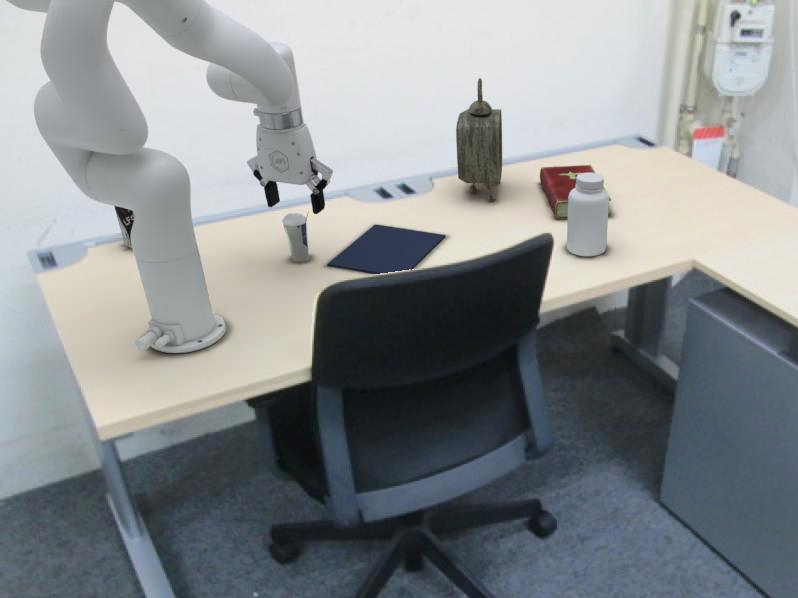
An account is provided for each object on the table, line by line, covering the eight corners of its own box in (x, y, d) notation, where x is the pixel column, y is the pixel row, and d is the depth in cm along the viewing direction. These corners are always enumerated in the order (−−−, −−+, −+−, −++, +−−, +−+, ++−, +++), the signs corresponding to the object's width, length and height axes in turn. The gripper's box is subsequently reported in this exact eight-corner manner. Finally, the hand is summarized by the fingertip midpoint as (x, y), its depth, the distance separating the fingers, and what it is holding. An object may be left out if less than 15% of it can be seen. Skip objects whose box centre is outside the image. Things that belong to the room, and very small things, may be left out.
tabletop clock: (499, 204, 199) (497, 89, 185) (458, 204, 199) (453, 88, 185) (502, 180, 211) (500, 70, 197) (464, 180, 211) (459, 70, 197)
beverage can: (125, 252, 178) (109, 194, 171) (125, 240, 182) (109, 183, 175) (156, 248, 179) (141, 190, 172) (155, 236, 184) (140, 180, 177)
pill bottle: (614, 248, 181) (618, 176, 172) (588, 261, 176) (591, 187, 167) (584, 237, 185) (587, 166, 177) (558, 249, 180) (560, 177, 172)
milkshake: (310, 265, 173) (303, 216, 168) (284, 262, 174) (276, 214, 169) (320, 255, 177) (313, 207, 171) (294, 252, 178) (287, 204, 172)
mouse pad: (402, 278, 169) (402, 276, 169) (327, 265, 173) (327, 263, 173) (445, 236, 185) (445, 234, 185) (375, 226, 189) (375, 224, 189)
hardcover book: (555, 219, 193) (555, 200, 190) (539, 183, 210) (539, 166, 207) (609, 216, 194) (611, 197, 192) (590, 181, 211) (590, 163, 209)
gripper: (227, 119, 160) (245, 209, 170) (313, 129, 155) (327, 222, 165) (251, 106, 165) (267, 194, 175) (334, 116, 161) (346, 206, 171)
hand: (296, 207), depth 170 cm, fingers open, 9 cm apart
